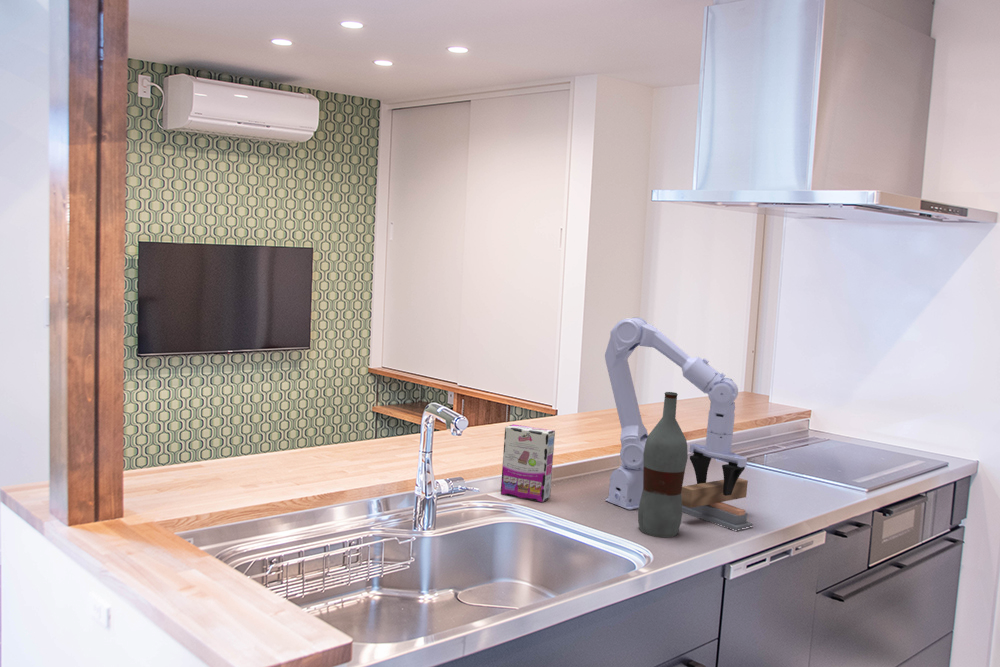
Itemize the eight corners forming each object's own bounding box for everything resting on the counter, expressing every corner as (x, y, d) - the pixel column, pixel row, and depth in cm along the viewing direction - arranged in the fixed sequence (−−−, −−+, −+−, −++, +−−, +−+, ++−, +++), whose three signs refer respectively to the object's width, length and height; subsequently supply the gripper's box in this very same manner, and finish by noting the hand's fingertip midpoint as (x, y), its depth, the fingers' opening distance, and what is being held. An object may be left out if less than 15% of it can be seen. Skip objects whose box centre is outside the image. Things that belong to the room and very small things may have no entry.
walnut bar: (690, 507, 181) (692, 490, 181) (679, 504, 184) (681, 486, 183) (746, 497, 194) (747, 480, 193) (735, 493, 196) (737, 477, 196)
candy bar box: (550, 498, 195) (556, 430, 194) (543, 503, 191) (548, 433, 189) (508, 489, 200) (513, 423, 198) (499, 494, 195) (504, 426, 194)
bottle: (670, 523, 182) (682, 389, 179) (687, 538, 173) (701, 397, 170) (630, 523, 180) (642, 388, 177) (646, 538, 171) (659, 395, 168)
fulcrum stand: (735, 531, 180) (737, 513, 180) (672, 508, 194) (674, 491, 194) (752, 527, 184) (754, 510, 183) (689, 505, 198) (690, 488, 197)
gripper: (757, 437, 184) (751, 497, 185) (705, 424, 195) (700, 480, 196) (738, 440, 179) (731, 500, 181) (686, 426, 191) (680, 483, 192)
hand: (714, 490), depth 188 cm, fingers open, 7 cm apart
